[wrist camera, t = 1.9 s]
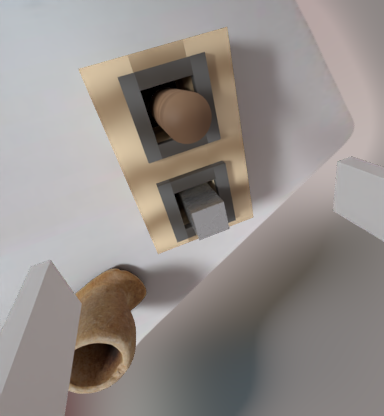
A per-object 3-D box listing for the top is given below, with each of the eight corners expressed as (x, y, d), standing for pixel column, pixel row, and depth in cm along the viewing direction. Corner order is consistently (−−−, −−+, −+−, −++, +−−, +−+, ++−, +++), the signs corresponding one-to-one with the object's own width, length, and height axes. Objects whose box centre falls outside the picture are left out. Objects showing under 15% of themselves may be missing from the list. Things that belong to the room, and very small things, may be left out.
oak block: (87, 71, 28) (76, 68, 20) (201, 38, 29) (231, 24, 22) (150, 223, 39) (159, 258, 31) (230, 194, 41) (256, 220, 33)
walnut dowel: (144, 93, 26) (156, 99, 18) (179, 82, 26) (205, 84, 19) (155, 130, 28) (171, 150, 20) (188, 120, 28) (215, 135, 21)
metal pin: (173, 181, 32) (191, 213, 25) (198, 173, 33) (223, 201, 25) (180, 204, 34) (199, 240, 27) (204, 195, 35) (229, 228, 27)
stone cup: (107, 249, 39) (104, 331, 26) (153, 285, 45) (169, 366, 33) (37, 303, 40) (1, 407, 27) (91, 331, 46) (83, 427, 34)
